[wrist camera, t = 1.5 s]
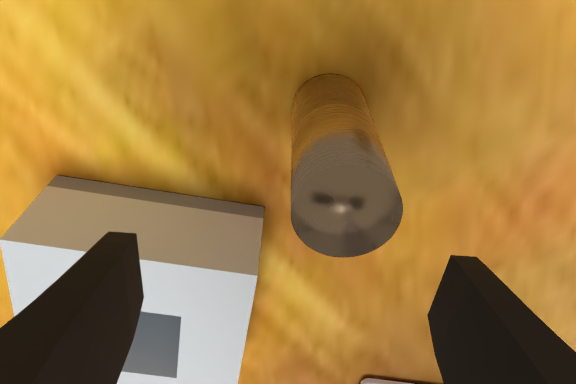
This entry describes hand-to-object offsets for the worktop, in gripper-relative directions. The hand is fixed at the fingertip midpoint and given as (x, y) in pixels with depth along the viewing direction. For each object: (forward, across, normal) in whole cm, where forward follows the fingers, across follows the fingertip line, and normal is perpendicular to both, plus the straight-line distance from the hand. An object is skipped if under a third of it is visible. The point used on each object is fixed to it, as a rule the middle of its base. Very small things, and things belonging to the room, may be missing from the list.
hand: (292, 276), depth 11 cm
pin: (+11, -2, 0) cm, 11 cm away
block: (+10, +6, +10) cm, 16 cm away
